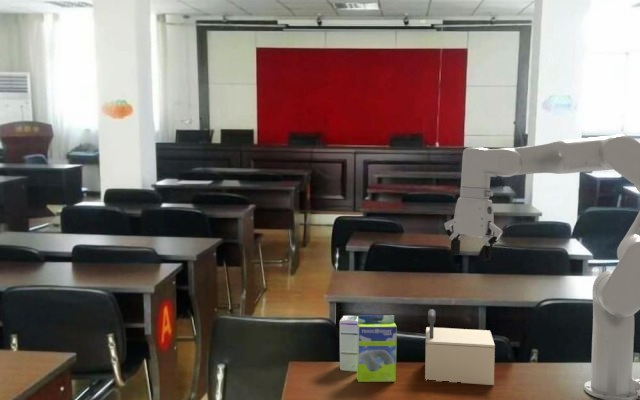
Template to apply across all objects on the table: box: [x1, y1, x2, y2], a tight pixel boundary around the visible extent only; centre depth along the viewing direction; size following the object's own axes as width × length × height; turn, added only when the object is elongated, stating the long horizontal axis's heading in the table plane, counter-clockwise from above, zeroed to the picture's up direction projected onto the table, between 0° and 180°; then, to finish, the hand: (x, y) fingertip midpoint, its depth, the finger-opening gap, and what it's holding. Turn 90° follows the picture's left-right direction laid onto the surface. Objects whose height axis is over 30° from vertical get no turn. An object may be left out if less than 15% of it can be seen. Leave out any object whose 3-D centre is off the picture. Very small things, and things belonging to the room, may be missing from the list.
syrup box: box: [339, 315, 359, 372], centre depth 176 cm, size 6×6×14 cm
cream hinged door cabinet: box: [424, 342, 496, 386], centre depth 172 cm, size 18×14×10 cm
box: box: [356, 314, 398, 383], centre depth 167 cm, size 10×4×17 cm, turn 93°
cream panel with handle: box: [425, 308, 496, 348], centre depth 171 cm, size 18×14×7 cm
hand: (470, 257), depth 166 cm, fingers open, 9 cm apart
